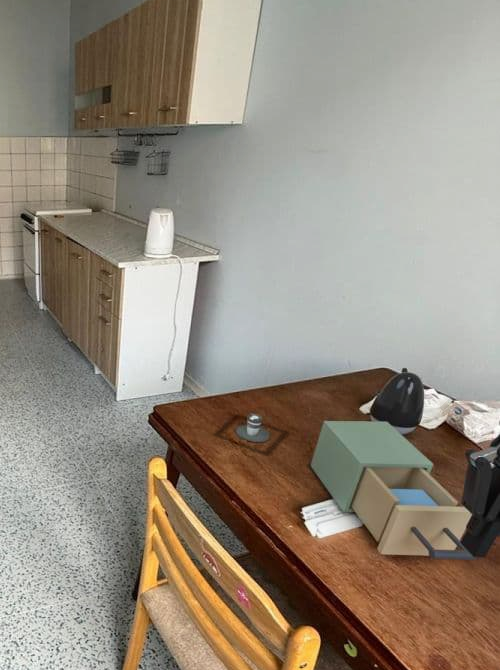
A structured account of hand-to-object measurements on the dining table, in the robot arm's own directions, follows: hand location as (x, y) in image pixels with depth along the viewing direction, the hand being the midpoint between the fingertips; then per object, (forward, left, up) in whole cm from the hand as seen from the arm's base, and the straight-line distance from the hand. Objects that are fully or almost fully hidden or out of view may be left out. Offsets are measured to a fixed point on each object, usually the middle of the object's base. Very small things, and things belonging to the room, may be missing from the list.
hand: (472, 549), depth 68 cm
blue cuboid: (0, -14, -9) cm, 16 cm away
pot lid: (+15, -47, -11) cm, 50 cm away
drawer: (0, -12, -10) cm, 15 cm away
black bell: (-19, -50, -11) cm, 54 cm away
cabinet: (0, -27, -11) cm, 29 cm away
